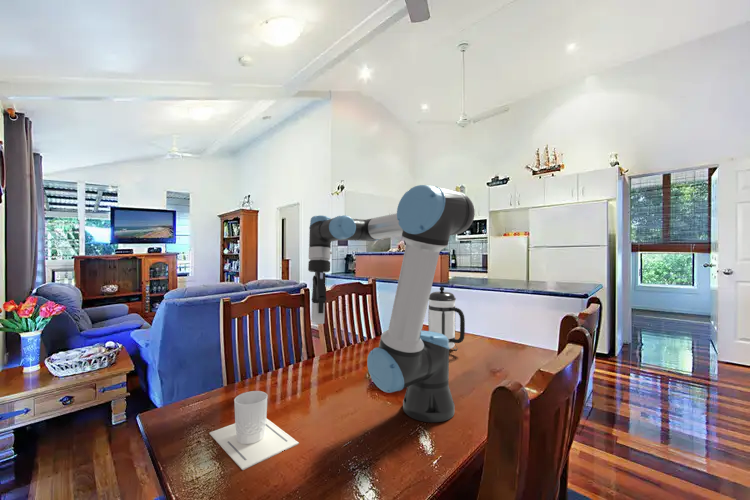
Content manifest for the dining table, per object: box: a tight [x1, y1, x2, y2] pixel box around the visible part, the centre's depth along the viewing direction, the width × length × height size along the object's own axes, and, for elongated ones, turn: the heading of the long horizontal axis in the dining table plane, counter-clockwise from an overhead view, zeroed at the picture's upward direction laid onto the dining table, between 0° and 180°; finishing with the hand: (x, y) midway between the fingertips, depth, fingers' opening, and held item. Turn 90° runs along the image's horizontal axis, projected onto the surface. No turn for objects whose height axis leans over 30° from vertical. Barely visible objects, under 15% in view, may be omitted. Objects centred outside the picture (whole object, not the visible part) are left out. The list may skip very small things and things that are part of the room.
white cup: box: [233, 390, 269, 444], centre depth 84 cm, size 8×8×10 cm
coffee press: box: [427, 286, 466, 351], centre depth 159 cm, size 17×16×30 cm
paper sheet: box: [209, 417, 300, 471], centre depth 84 cm, size 20×14×1 cm
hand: (317, 322), depth 114 cm, fingers open, 13 cm apart
